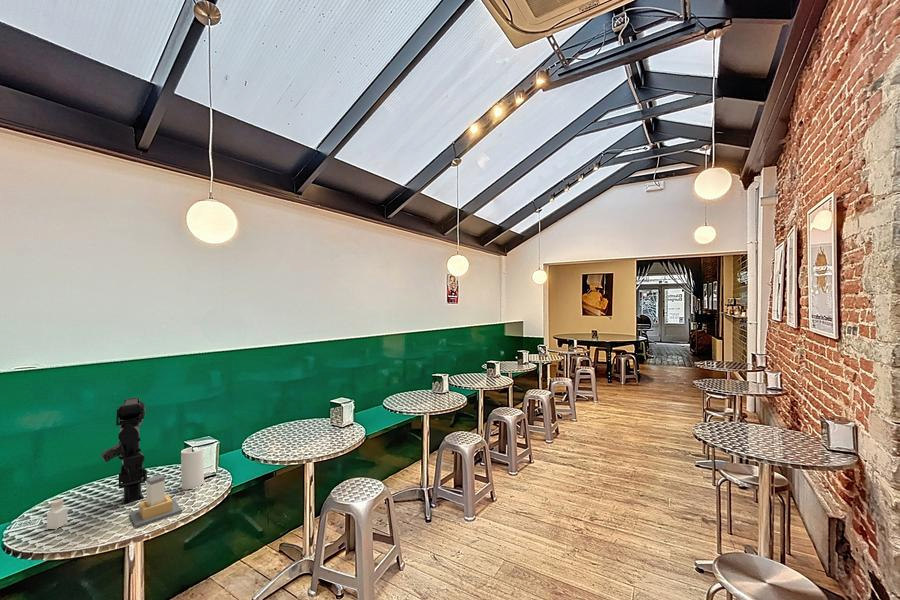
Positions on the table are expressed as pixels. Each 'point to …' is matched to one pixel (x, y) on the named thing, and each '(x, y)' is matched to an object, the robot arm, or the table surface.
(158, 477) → the plug
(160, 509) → the socket plate
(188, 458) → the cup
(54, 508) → the pepper shaker
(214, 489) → the table surface
